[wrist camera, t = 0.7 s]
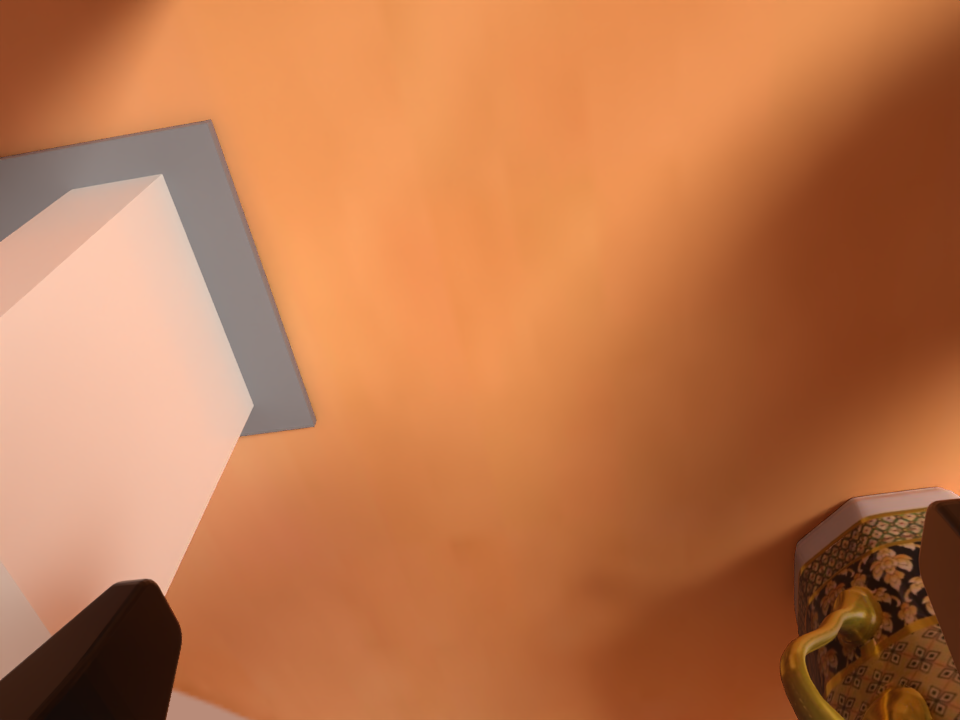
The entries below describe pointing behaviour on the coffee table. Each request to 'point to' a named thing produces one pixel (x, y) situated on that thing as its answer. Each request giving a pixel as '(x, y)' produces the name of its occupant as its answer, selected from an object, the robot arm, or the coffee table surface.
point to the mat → (211, 233)
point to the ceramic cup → (868, 618)
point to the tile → (104, 404)
